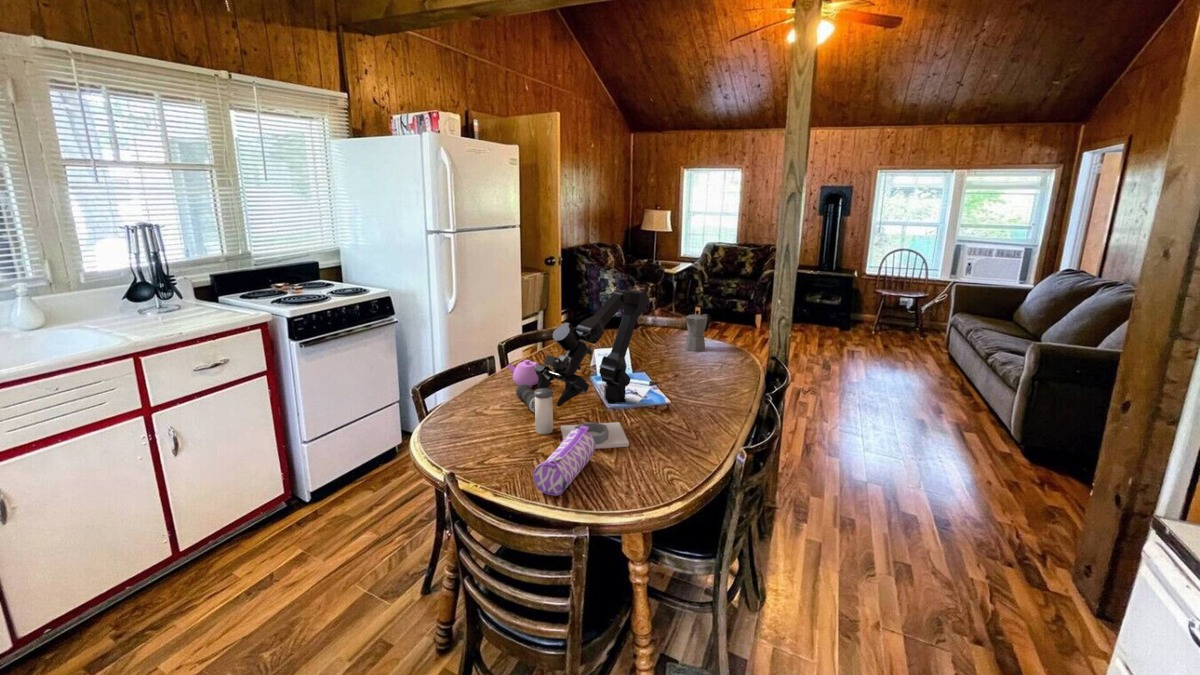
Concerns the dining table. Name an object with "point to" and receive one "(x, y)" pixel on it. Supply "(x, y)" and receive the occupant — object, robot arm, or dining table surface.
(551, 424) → the canister
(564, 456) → the pencil case
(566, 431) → the socket plate
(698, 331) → the coffeepot
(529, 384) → the teapot
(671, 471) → the dining table surface
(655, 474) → the dining table surface
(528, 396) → the flashlight
